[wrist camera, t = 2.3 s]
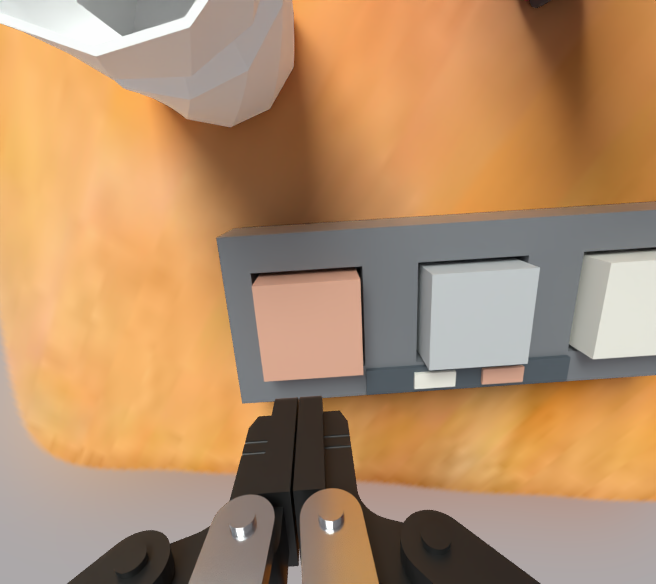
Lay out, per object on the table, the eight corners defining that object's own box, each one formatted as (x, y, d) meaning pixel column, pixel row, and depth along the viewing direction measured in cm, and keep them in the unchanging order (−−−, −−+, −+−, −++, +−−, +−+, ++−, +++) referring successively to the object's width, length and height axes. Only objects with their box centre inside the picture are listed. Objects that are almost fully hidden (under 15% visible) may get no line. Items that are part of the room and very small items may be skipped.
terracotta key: (354, 265, 20) (360, 279, 17) (357, 349, 22) (363, 374, 19) (261, 271, 20) (251, 286, 17) (271, 355, 22) (264, 381, 19)
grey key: (508, 255, 20) (540, 267, 17) (499, 340, 22) (527, 363, 19) (416, 261, 20) (432, 274, 17) (414, 345, 22) (429, 370, 19)
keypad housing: (659, 201, 22) (743, 205, 18) (628, 343, 25) (692, 377, 21) (234, 228, 22) (213, 239, 17) (254, 369, 25) (240, 408, 20)
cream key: (661, 245, 20) (717, 255, 17) (641, 330, 22) (690, 352, 19) (569, 251, 20) (611, 263, 17) (556, 336, 22) (592, 359, 19)
